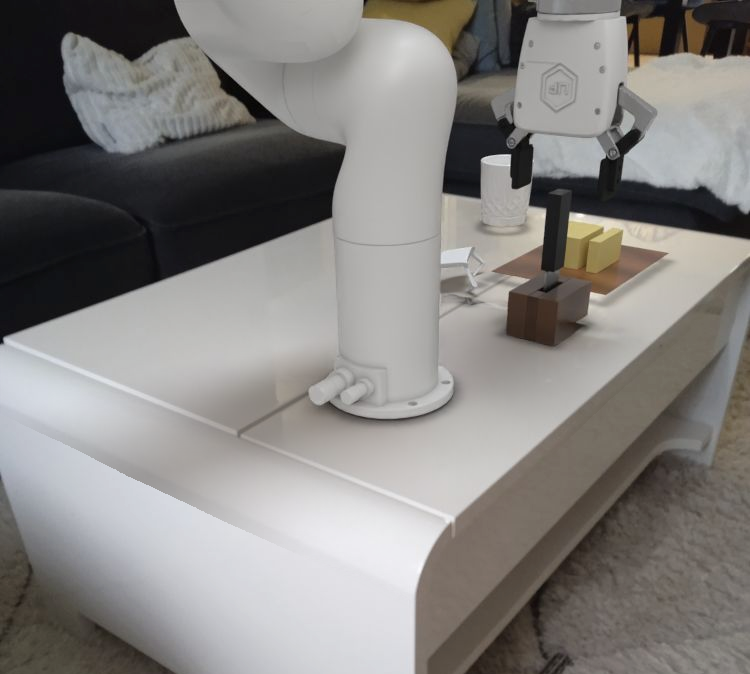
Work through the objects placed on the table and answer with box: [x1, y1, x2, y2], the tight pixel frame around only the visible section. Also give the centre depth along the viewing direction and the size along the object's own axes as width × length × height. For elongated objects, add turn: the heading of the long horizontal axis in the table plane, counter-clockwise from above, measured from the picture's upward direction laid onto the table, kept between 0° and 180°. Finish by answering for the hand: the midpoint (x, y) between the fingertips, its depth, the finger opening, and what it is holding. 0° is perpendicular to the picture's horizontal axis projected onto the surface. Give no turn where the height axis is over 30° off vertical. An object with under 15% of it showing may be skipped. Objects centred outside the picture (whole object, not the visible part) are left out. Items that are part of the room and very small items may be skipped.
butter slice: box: [586, 227, 624, 273], centre depth 107 cm, size 7×2×4 cm, turn 142°
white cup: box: [480, 154, 535, 228], centre depth 125 cm, size 8×8×10 cm
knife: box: [541, 188, 573, 293], centre depth 89 cm, size 3×2×15 cm, turn 142°
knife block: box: [505, 272, 592, 347], centre depth 92 cm, size 8×6×5 cm
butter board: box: [491, 244, 670, 296], centre depth 110 cm, size 20×16×1 cm
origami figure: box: [440, 246, 486, 305], centre depth 103 cm, size 12×8×5 cm
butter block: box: [564, 220, 605, 270], centre depth 109 cm, size 7×5×4 cm
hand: (562, 192), depth 85 cm, fingers open, 9 cm apart
